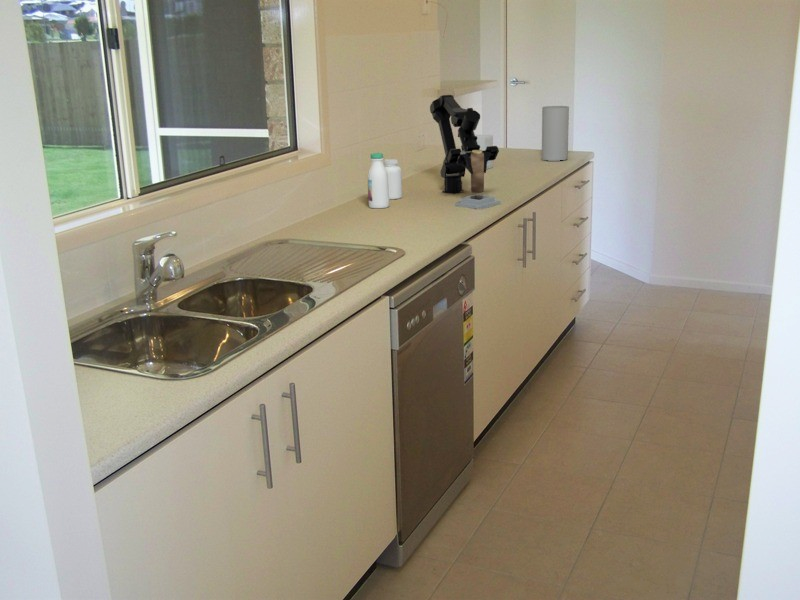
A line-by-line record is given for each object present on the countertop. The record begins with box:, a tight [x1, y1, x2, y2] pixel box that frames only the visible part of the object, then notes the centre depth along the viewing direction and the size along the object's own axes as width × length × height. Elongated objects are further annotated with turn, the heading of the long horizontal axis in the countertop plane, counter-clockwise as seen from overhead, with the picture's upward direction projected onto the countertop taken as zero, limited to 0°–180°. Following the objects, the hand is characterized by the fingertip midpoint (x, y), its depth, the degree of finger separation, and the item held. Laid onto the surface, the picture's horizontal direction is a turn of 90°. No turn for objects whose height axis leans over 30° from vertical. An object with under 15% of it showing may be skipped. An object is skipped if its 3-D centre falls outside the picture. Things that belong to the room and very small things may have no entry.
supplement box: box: [475, 134, 494, 170], centre depth 403 cm, size 9×9×15 cm
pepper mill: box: [470, 150, 485, 194], centre depth 320 cm, size 5×5×15 cm
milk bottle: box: [367, 152, 390, 209], centre depth 324 cm, size 8×8×20 cm
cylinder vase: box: [541, 105, 570, 162], centre depth 418 cm, size 12×12×25 cm
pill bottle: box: [383, 158, 403, 200], centre depth 341 cm, size 8×8×15 cm
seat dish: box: [454, 193, 501, 210], centre depth 324 cm, size 12×12×3 cm
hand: (478, 173), depth 319 cm, fingers closed on pepper mill, 5 cm apart
